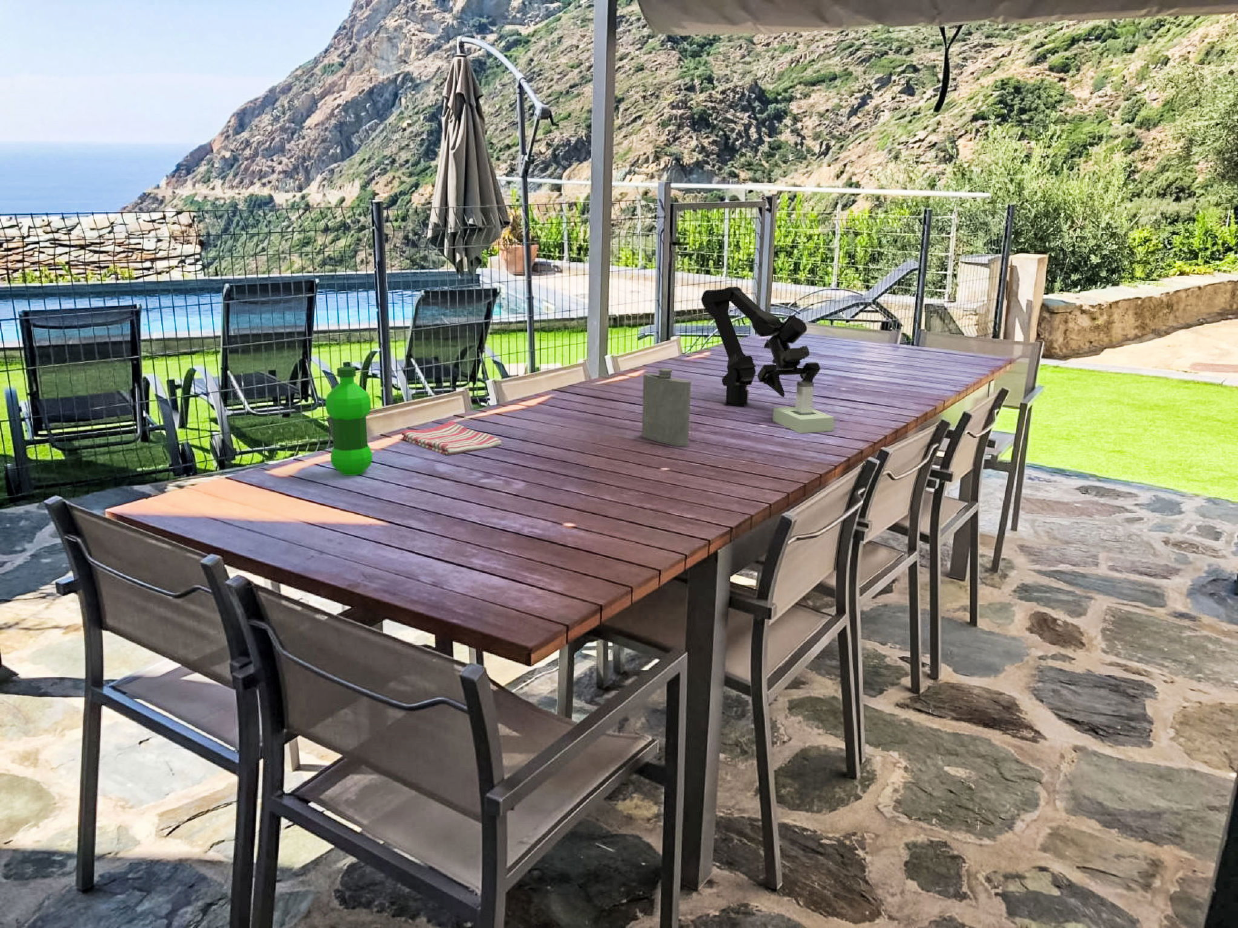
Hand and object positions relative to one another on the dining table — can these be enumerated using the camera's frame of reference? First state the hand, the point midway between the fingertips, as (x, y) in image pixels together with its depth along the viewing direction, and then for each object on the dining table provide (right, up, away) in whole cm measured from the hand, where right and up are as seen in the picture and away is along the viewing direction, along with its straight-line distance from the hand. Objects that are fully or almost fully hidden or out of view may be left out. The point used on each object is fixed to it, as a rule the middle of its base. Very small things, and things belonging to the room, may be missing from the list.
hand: (797, 395), depth 282 cm
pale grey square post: (+1, -9, -1) cm, 9 cm away
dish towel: (-98, -15, -27) cm, 103 cm away
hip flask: (-41, -14, -21) cm, 48 cm away
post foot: (+1, -9, -1) cm, 9 cm away
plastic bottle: (-116, -22, -56) cm, 131 cm away
